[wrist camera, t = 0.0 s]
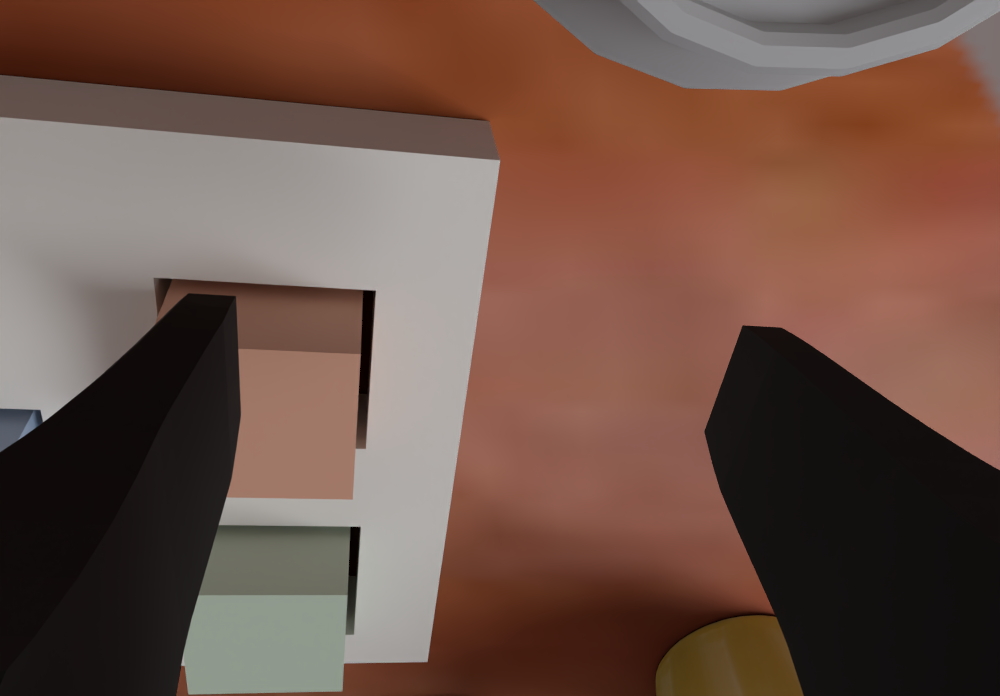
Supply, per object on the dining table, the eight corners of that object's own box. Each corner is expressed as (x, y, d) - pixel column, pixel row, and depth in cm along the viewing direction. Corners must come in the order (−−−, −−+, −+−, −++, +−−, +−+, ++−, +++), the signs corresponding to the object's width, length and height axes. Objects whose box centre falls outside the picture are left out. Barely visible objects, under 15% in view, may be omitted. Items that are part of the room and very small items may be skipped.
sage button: (345, 608, 28) (342, 691, 25) (205, 609, 27) (188, 694, 25) (350, 513, 25) (347, 595, 23) (196, 511, 25) (176, 595, 22)
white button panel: (424, 603, 31) (427, 662, 29) (-130, 605, 27) (-169, 671, 26) (489, 121, 20) (500, 160, 18) (-376, 39, 17) (-472, 76, 15)
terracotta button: (355, 421, 23) (352, 499, 21) (188, 415, 23) (164, 496, 20) (363, 283, 21) (360, 354, 18) (175, 272, 20) (146, 344, 18)
